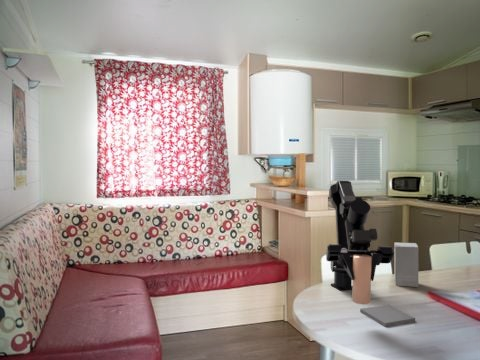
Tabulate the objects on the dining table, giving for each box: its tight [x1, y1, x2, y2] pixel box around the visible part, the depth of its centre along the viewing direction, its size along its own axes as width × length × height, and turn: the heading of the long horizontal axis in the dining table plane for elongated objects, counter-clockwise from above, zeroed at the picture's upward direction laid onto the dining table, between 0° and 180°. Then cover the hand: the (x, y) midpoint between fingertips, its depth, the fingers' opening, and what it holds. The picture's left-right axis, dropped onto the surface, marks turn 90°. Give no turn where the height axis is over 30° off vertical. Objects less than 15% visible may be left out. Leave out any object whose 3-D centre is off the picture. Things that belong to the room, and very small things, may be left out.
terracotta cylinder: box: [351, 254, 372, 305], centre depth 106 cm, size 5×5×13 cm
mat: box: [359, 304, 416, 328], centre depth 112 cm, size 11×11×1 cm
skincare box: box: [393, 242, 420, 288], centre depth 142 cm, size 8×7×16 cm
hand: (362, 280), depth 105 cm, fingers closed on terracotta cylinder, 5 cm apart
